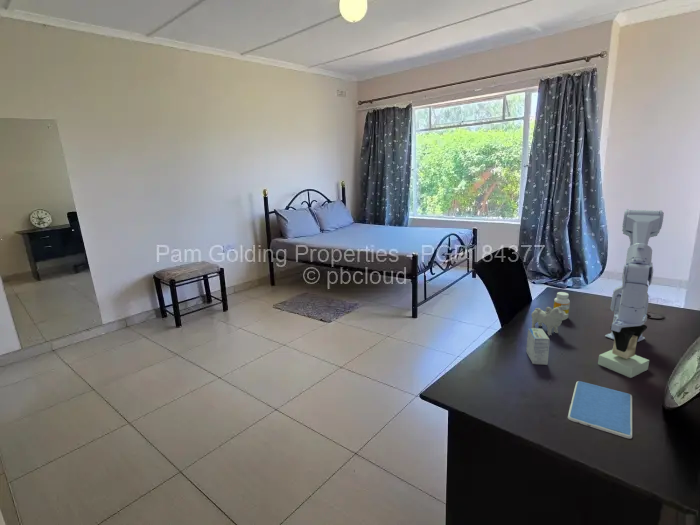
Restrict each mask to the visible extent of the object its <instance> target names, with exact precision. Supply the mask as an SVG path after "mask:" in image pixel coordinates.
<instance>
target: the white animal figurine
mask: <svg viewBox="0 0 700 525" xmlns="http://www.w3.org/2000/svg"><path fill="white" fill-rule="evenodd" d="M562 308H563V307H562V306H560V307H556V308H554V309H553V308H552V307H550V306H547V307H545V310H543V309H542V308H540V307H535V309H534V311H532V312H531V314H530V316H531V328H537V327H536V323H537V324H538V327H541V326H542V327H543V325H545V326H546V328H547V329H546V330H547V334H548V335H547V334H546V335H547V336H550V335H551V336H553V335H552V332H555V334H559V331H558V330H559V328H558V327H561V324H562V322H563V321H565V320H567V319H568V318H569V314H566V313H565V311H563V310H562Z"/></svg>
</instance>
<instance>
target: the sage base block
mask: <svg viewBox="0 0 700 525" xmlns="http://www.w3.org/2000/svg"><path fill="white" fill-rule="evenodd" d="M612 351H613V348H612V349H610V350H608V351H605V352H603V353H600V354H599V355H598V358H597V359H598V361H597V365H599V366H601V367H603V368H607V369H608V370H611V371H613V372H616V373H618V374H621V375H623V376H625V377H626V378H630V379H631V378H633V377H634V378H635V377H636V376H637V375H640V374H642V373H643V372H645V371H647V370H649V364H650V359H647V358H645V357H642V356H640V355H637V354H635V355H634V356H632V357H630V358H628V359H626V358H623V357H620V356H618V355H615V354H613V353H612Z"/></svg>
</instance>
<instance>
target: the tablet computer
mask: <svg viewBox="0 0 700 525" xmlns="http://www.w3.org/2000/svg"><path fill="white" fill-rule="evenodd" d="M567 419H568V420H569V421H571V422H574V423H578V424H581V425H582V426H583V425H584V426H587V427H591V428H593V429H597V430H600V431H602V432H607V433H609V434H613V435H616V436H619V437H622V438H625V439H632V438H633V395H632V394H630V393H627V392H624V391H619V390H616V389H612V388H608V387H605V386H600V385H597V384H592V383H589V382H585V381H581V380H578V381H576V383H575V386H574V389H573V394H572V398H571V403H570V404H569V410H568V415H567Z"/></svg>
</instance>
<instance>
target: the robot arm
mask: <svg viewBox="0 0 700 525" xmlns="http://www.w3.org/2000/svg"><path fill="white" fill-rule="evenodd" d="M622 221H623V222H622V230H621V231H622V234H623V235H625V236H628V238H629V242H630V243H629V246H628V248H627V250H626V251H627V252H626V260H625V264H624V265H623V268H622V269H623V270H622V277H621V280H622V281H621V282H622V285H619V286H617V287H615V288H614V290H613V293H612V295H611V296H612V297H611V303H610V309H609V310H611V312H614V313H613V320H612V323H611V326H610V330H611V332H610V333H607V334H605V335H604V336H605V337H606V338H609V339H612V340H614V338H615V343H616V349H617V350H619V351H622V352H625V351H626V349H627V347H628V344H629V341H630V339H631V337H632V336H633V335H634V336H637V337H638V338H637V343H638V342H640V341H643V340H646V338H645V336H643V333H644V332H645V331H646V330H647V329H648V326H647V325H645V323H646V322H647V320H648V315H647V313H648V308H649V298H650V296H649V295H650V294H649V293H648V290H649V286H651V284H652V281H653V277H654V276H653V275H654V266H653V262H652V258H653V249H652V247H651V246H650V245H648V244H649V242H650V241H649V240H650V239H651V238H654V237H657V236H658V234H660V231H661V229H662V227H663V222H664V212H663V210H646V209H645V210H642V209H641V210H640V209H638V210H637V209H628V208H627V209H626V210H624V214H623V220H622Z"/></svg>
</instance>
